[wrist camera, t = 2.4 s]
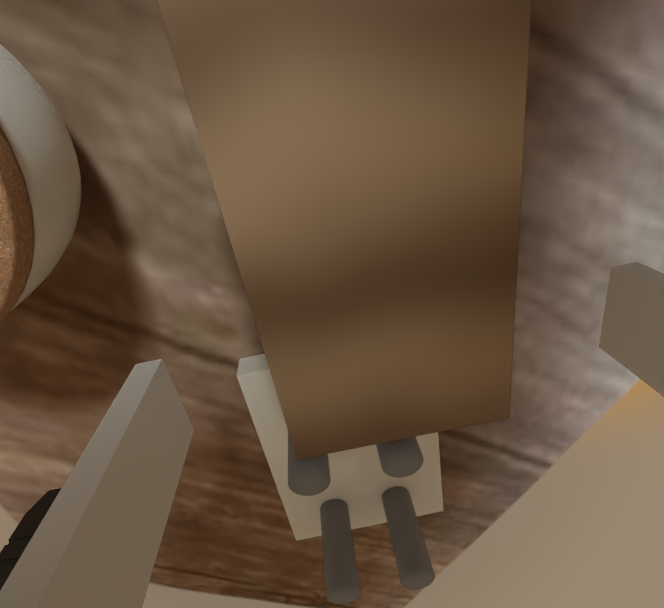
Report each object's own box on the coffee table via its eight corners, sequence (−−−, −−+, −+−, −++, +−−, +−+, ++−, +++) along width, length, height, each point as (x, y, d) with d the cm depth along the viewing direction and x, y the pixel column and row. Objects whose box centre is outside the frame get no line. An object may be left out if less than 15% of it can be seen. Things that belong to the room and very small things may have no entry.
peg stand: (239, 358, 21) (221, 454, 16) (422, 321, 21) (471, 404, 16) (295, 519, 28) (297, 629, 22) (436, 491, 28) (474, 593, 22)
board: (183, 14, 10) (154, -8, 8) (483, -43, 10) (535, -82, 8) (296, 412, 17) (297, 459, 15) (480, 376, 17) (509, 418, 15)
